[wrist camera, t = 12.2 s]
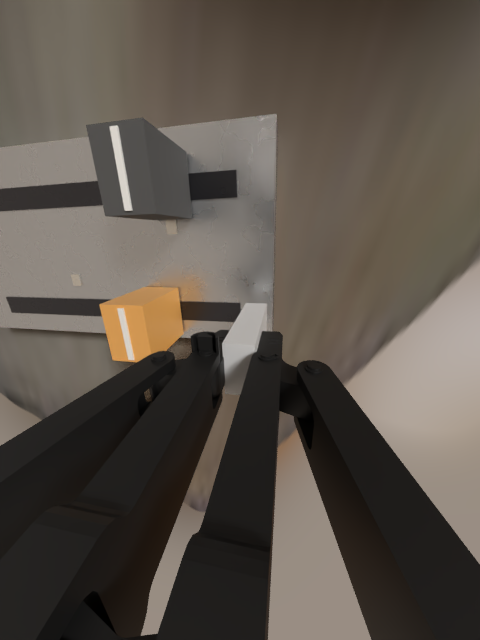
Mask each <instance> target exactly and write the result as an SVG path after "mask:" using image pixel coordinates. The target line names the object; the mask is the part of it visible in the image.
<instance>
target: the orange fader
mask: <svg viewBox="0 0 480 640" xmlns="http://www.w3.org/2000/svg"><path fill="white" fill-rule="evenodd" d="M99 306H100V310H101V314H102V318H103V322H104V326H105V330H106V334H107V338H108V342H109V346H110V350H111V354H112V358H113V360H115V361H127V362H138V361H140V360H142V359H143V358H145V357H147V356H148V355H150V354H153V353H156V352H158V351H166V350H167V349H168V348H169V347H170V346H171V345H172V344H173V343H174V342H175V341H176V340H178V339H179V338H180V337H181V336H182V335H183V334H184V332H183V324H182V315H181V307H180V299H179V291H178V288H175V287H143V288H140V289H138V290H135V291H133V292H130V293H127V294H125V295H122V296H120V297H117V298H114V299H112V300H109V301H107V302H104V303H101V304H99Z"/></svg>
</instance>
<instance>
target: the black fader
mask: <svg viewBox="0 0 480 640" xmlns="http://www.w3.org/2000/svg"><path fill="white" fill-rule="evenodd" d="M86 127H87V132H88V137H89V142H90V147H91V151H92V156H93V161H94V166H95V170H96V175H97V180H98V185H99V190H100V194H101V199H102V204H103V209H104V213H105V216H109V217H121V218H132V219H144V220H172V219H192V209H191V198H190V187H189V176H188V165H187V154H186V151H185V150H183V149H182V148H181V147H179V146H178V145H177V144H176V143H174V142H173V141H172V140H171V139H169V138H168V137H167V136H165V135H164V134H163V133H162V132H160V131H159V130H158V129H157V128H155V127H154V126H153V125H151V124H150V123H149V122H148V121H146V120H145V119H144V118H136V119H129V120H121V121H114V122H106V123H99V124H91V125H86Z"/></svg>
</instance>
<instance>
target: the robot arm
mask: <svg viewBox="0 0 480 640" xmlns="http://www.w3.org/2000/svg"><path fill="white" fill-rule="evenodd" d="M282 339H283V335H282V334H281V333H280V332H273V331H267V304H264V303H246V304H245V305H244V307H243V309H242V310H241V312H240V314H239V316H238V317H237V319H236V321H235V322H234V324H233V326H232V327H231V329H230V330H219V331H217V332H215V333H214V332H209V331H204V332H198V333H195V334H193V335H192V336H191V345H192V353H191V354H190V356H189V357H188V358H187V359H180V360H175V357H174V354H173V353H171V352H168V351H158V352H156V353H153V354H150V355H148V356H147V357H145V358H143V359H142V360H140V361H138V362H137V363H135V364H134V365H132V366H130V367H129V368H127V369H125V370H124V371H122V372H120V373H119V374H117V375H116V376H114V377H112V378H111V379H109V380H107V381H106V382H104V383H102V384H101V385H99V386H98V387H96V388H94V389H93V390H91V391H89V392H88V393H86V394H84V395H83V396H81V397H80V398H78V399H76V400H75V401H73V402H71V403H70V404H68V405H66V406H65V407H63V408H62V409H60V410H58V411H57V412H55V413H53V414H52V415H50V416H48V417H47V418H45V419H44V420H42V421H40V422H39V423H37V424H35V425H34V426H32V427H30V428H29V429H27V430H26V431H24V432H22V433H21V434H19V435H17V436H16V437H14V438H13V439H11V440H9V441H8V442H6V443H5V444H3V445H1V446H0V640H268V623H269V622H268V621H269V601H270V583H271V582H270V581H271V563H272V544H273V524H274V505H275V484H276V466H277V447H278V427H279V411H282V412H284V413H287V414H290V415H293V416H294V422H295V425H296V428H297V430H298V433H299V436H300V439H301V442H302V444H303V447H304V450H305V453H306V456H307V459H308V461H309V464H310V467H311V470H312V473H313V475H314V478H315V481H316V484H317V487H318V490H319V492H320V495H321V498H322V501H323V504H324V507H325V509H326V512H327V515H328V518H329V521H330V523H331V526H332V529H333V532H334V535H335V538H336V540H337V543H338V546H339V549H340V552H341V555H342V557H343V560H344V563H345V566H346V569H347V571H348V574H349V577H350V580H351V583H352V586H353V589H354V591H355V594H356V597H357V599H358V603H359V605H360V608H361V611H362V614H363V617H364V620H365V623H366V625H367V628H368V631H369V634H370V637H371V639H372V640H480V564H479V563H478V562H477V561H476V559H475V558H474V557H473V555H472V554H471V553H470V551H469V550H468V549H467V547H466V546H465V545H464V543H463V542H462V541H461V540H460V538H459V537H458V535H457V534H456V533H455V532H454V530H453V529H452V528H451V526H450V525H449V524H448V522H447V521H446V520H445V518H444V517H443V516H442V515H441V513H440V512H439V511H438V509H437V508H436V507H435V505H434V504H433V503H432V501H431V500H430V499H429V497H428V496H427V495H426V493H425V492H424V491H423V490H422V488H421V487H420V486H419V484H418V483H417V482H416V480H415V479H414V478H413V476H412V475H411V474H410V472H409V471H408V470H407V468H406V467H405V466H404V464H403V463H402V462H401V461H400V459H399V458H398V457H397V455H396V454H395V453H394V452H393V450H392V449H391V447H390V446H389V445H388V444H387V442H386V441H385V439H384V438H383V437H382V436H381V434H380V433H379V432H378V430H377V429H376V428H375V426H374V425H373V424H372V423H371V421H370V420H369V418H368V417H367V416H366V415H365V413H364V412H363V411H362V409H361V408H360V407H359V405H358V404H357V403H356V401H355V400H354V399H353V397H352V396H351V395H350V393H349V392H348V391H347V390H346V388H345V387H344V386H343V384H342V383H341V382H340V380H339V379H338V378H337V376H336V375H335V374H334V372H333V371H332V370H331V369H330V367H328V366H327V365H326V364H324V363H322V362H319V361H315V360H312V361H311V360H308V361H303V362H301V363H299V364H298V366H297V367H294V366H291V365H289V364H287V363H285V362H284V361H283V360H282ZM224 385H225V394H234V395H240V398H239V401H238V404H237V408H236V411H235V414H234V418H233V421H232V425H231V428H230V431H229V435H228V438H227V442H226V445H225V448H224V452H223V455H222V458H221V462H220V465H219V469H218V472H217V475H216V479H215V482H214V485H213V489H212V492H211V496H210V499H209V502H208V506H207V509H206V513H205V516H204V519H203V522H202V525H201V528H200V530H199V532H198V533H196V534H194V535H192V537H191V539H190V541H189V542H188V544H187V547H186V550H185V552H184V555H183V558H182V561H181V564H180V567H179V570H178V573H177V576H176V579H175V582H174V585H173V588H172V591H171V595H170V597H169V601H168V604H167V607H166V610H165V613H164V616H163V619H162V622H161V625H160V628H159V632H158V634H152V635H145V636H140V635H141V632H142V629H143V625H144V621H145V617H146V613H147V606H148V599H149V592H150V588H151V585H152V582H153V579H154V576H155V573H156V571H157V568H158V566H159V563H160V560H161V558H162V555H163V553H164V550H165V547H166V545H167V542H168V540H169V537H170V534H171V532H172V529H173V527H174V524H175V522H176V519H177V516H178V514H179V511H180V508H181V506H182V503H183V501H184V498H185V496H186V493H187V490H188V488H189V485H190V483H191V480H192V477H193V475H194V472H195V470H196V467H197V464H198V462H199V459H200V457H201V454H202V451H203V449H204V446H205V444H206V441H207V438H208V436H209V433H210V431H211V428H212V425H213V423H214V420H215V418H216V415H217V412H218V410H219V407H220V405H221V402H222V389H223V387H224ZM147 389H150V394H151V397H150V398H149V399H148V400H146V399H145V395H144V392H145V391H146V390H147Z"/></svg>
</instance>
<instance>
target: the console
mask: <svg viewBox="0 0 480 640" xmlns="http://www.w3.org/2000/svg"><path fill="white" fill-rule="evenodd" d="M157 129H158V130H159V131H160V132H162V133H163V134H164V135H165V136H167V137H168V138H169V139H171V140H172V141H173V142H174V143H176V144H177V145H178V146H179V147H181V148H182V149H183V150H185V151H186V154H187V165H188V176H189V187H190V198H191V209H192V219H172V220H144V219H132V218H121V217H109V216H105V213H104V209H103V204H102V199H101V194H100V190H99V185H98V180H97V175H96V170H95V166H94V161H93V156H92V151H91V147H90V142H89V137H82V138H74V139H66V140H58V141H50V142H41V143H33V144H25V145H17V146H9V147H1V148H0V327H6V328H23V329H41V330H58V331H76V332H93V333H106V330H105V326H104V322H103V318H102V314H101V310H100V306H99V304H101V303H104V302H107V301H109V300H112V299H114V298H117V297H120V296H122V295H125V294H127V293H130V292H133V291H135V290H138V289H140V288H143V287H175V288H178V291H179V299H180V307H181V315H182V324H183V332H184V334H183V335H182V336H181V337H180V338H191V336H192V335H193V334H195V333H198V332H204V331H209V332H214V333H215V332H217V331H219V330H230V329H231V327H232V326H233V324H234V322H235V321H236V319H237V317H238V316H239V314H240V312H241V310H242V309H243V307H244V305H245V304H246V303H264V304H267V331H273V316H274V273H275V230H276V187H277V144H278V124H277V114H270V115H262V116H254V117H246V118H238V119H230V120H221V121H213V122H205V123H197V124H189V125H180V126H172V127H164V128H157Z"/></svg>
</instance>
